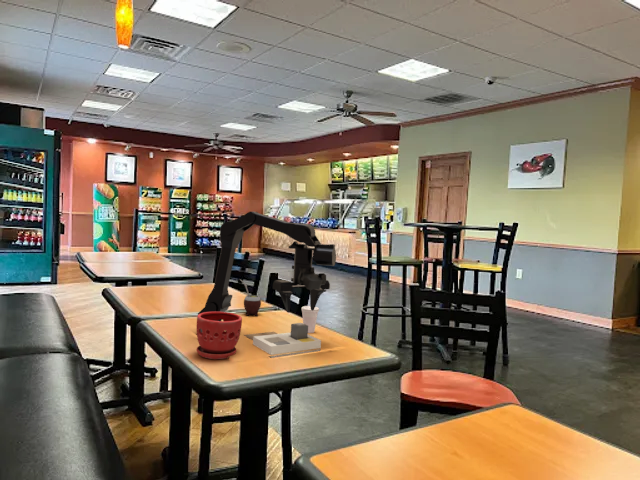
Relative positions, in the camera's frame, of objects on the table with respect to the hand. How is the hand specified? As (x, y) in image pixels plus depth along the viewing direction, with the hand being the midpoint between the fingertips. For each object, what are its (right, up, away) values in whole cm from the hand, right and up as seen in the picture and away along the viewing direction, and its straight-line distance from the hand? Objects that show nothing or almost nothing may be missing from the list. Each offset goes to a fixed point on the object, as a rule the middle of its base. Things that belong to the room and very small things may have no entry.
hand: (300, 311), depth 153 cm
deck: (-12, -11, +8) cm, 18 cm away
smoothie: (+2, -11, +18) cm, 22 cm away
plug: (-1, -11, 0) cm, 11 cm away
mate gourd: (-23, -8, +44) cm, 50 cm away
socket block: (-4, -12, -2) cm, 13 cm away
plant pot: (-24, -12, -12) cm, 29 cm away
